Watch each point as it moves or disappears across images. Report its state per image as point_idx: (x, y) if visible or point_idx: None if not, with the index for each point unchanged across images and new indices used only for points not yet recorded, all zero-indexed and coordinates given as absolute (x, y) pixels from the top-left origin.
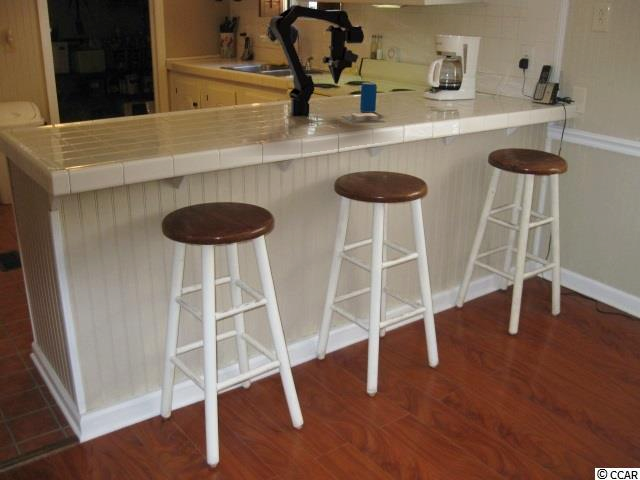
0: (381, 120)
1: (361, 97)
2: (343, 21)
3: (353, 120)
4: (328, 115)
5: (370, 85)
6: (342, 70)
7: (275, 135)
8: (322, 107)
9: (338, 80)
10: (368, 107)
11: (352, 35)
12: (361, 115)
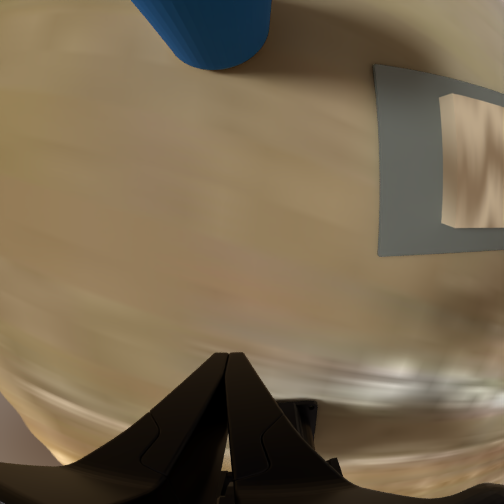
0: (497, 97)
1: (207, 36)
2: None
3: (483, 233)
4: (307, 310)
5: None
6: (360, 488)
7: (497, 455)
8: (53, 265)
9: (257, 377)
10: (268, 26)
11: None
12: (499, 193)
